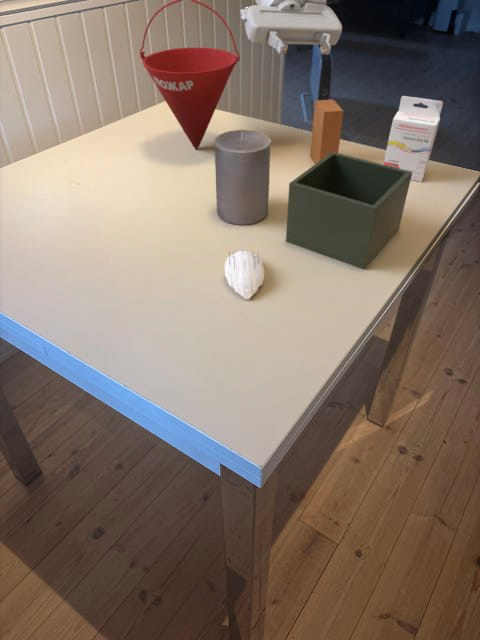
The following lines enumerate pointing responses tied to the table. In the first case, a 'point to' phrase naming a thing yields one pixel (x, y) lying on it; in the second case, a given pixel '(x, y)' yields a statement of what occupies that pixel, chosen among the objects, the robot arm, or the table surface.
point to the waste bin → (346, 208)
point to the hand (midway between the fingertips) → (305, 51)
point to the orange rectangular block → (325, 129)
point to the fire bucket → (191, 81)
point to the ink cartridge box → (413, 136)
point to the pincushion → (244, 273)
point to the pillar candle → (242, 176)
